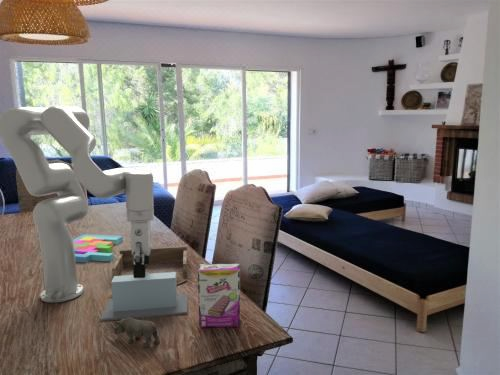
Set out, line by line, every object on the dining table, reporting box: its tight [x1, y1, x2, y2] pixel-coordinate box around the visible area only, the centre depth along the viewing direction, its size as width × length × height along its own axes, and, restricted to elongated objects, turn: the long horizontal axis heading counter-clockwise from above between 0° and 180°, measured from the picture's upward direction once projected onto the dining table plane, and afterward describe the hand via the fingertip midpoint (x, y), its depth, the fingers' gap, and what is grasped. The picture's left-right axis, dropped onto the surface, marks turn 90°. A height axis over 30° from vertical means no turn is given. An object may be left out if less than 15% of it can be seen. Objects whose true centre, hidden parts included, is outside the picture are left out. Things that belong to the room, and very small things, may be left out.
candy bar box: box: [197, 263, 241, 328], centre depth 107 cm, size 11×5×16 cm, turn 92°
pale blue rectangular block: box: [110, 271, 178, 312], centre depth 118 cm, size 4×18×9 cm, turn 99°
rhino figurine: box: [110, 317, 161, 348], centre depth 101 cm, size 4×14×6 cm, turn 70°
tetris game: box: [73, 233, 124, 263], centre depth 171 cm, size 28×3×28 cm
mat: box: [99, 293, 189, 322], centre depth 118 cm, size 12×24×1 cm, turn 98°
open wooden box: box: [111, 245, 188, 279], centre depth 147 cm, size 17×25×6 cm
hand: (141, 270), depth 117 cm, fingers open, 9 cm apart
